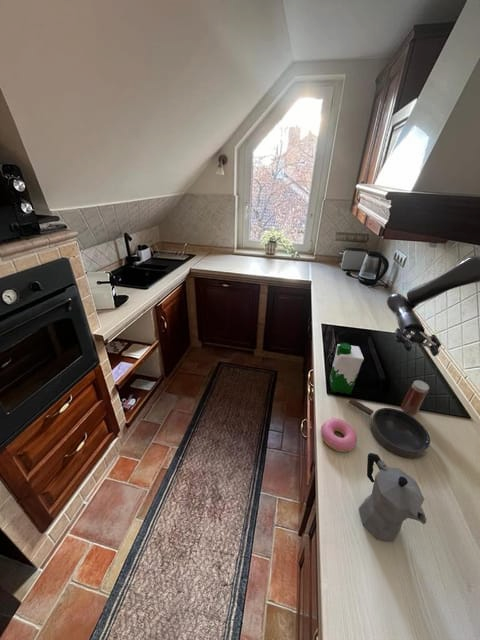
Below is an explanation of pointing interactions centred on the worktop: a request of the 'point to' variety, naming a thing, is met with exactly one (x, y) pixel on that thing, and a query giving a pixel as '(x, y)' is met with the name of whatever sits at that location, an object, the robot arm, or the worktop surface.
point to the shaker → (415, 397)
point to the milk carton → (345, 368)
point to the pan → (399, 433)
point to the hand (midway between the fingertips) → (422, 351)
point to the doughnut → (337, 442)
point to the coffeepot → (390, 501)
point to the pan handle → (360, 406)
